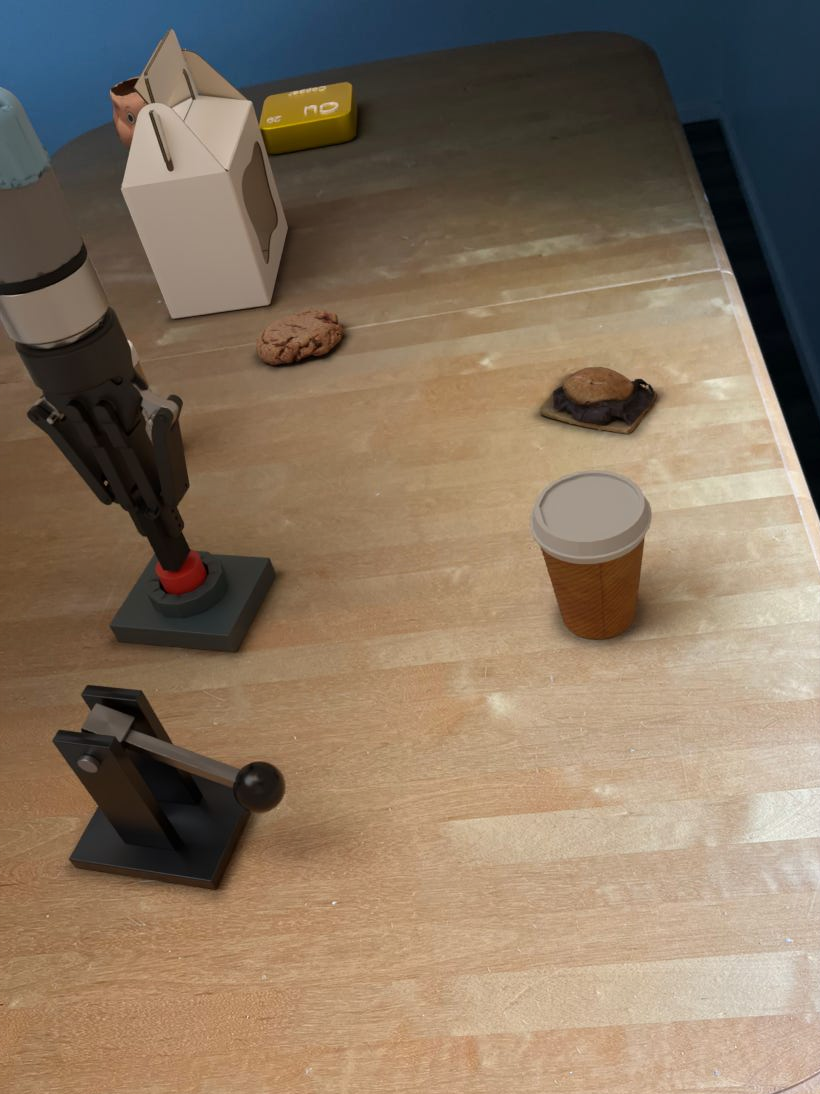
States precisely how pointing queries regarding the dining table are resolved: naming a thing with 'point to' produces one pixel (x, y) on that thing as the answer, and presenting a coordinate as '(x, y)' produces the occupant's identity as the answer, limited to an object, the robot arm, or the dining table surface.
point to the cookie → (299, 336)
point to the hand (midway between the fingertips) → (177, 560)
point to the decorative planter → (126, 109)
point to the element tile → (309, 118)
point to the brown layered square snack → (600, 400)
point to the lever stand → (148, 804)
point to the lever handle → (194, 761)
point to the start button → (183, 575)
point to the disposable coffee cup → (593, 548)
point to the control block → (196, 605)
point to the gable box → (202, 188)
